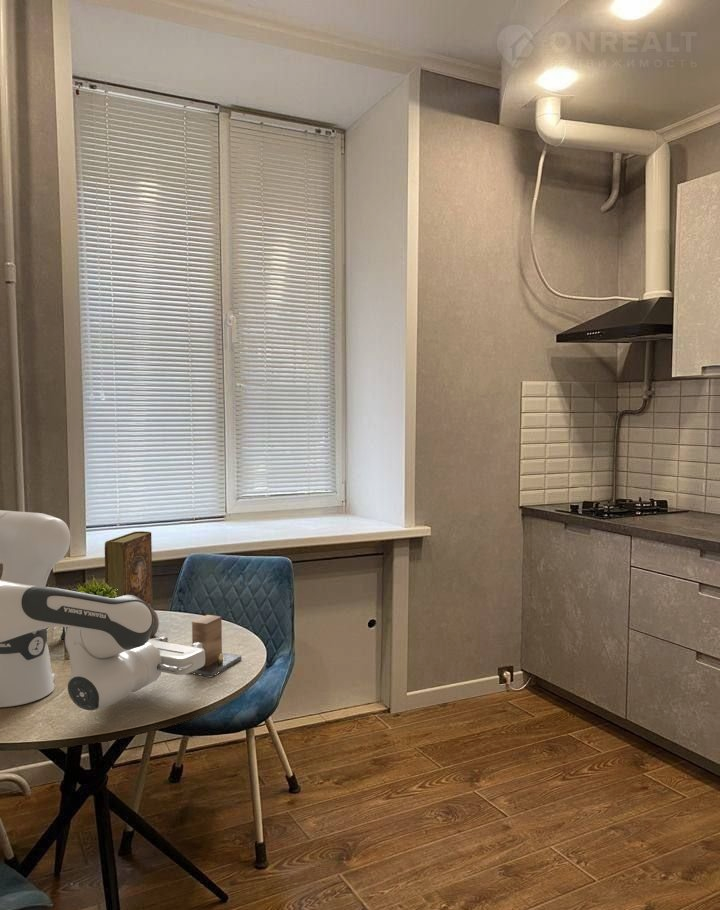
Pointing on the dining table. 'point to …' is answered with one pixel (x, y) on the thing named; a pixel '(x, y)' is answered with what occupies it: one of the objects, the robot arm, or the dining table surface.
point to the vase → (156, 621)
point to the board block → (208, 636)
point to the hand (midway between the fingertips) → (182, 642)
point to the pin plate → (218, 664)
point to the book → (130, 565)
